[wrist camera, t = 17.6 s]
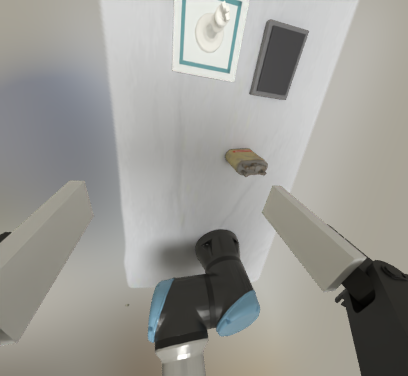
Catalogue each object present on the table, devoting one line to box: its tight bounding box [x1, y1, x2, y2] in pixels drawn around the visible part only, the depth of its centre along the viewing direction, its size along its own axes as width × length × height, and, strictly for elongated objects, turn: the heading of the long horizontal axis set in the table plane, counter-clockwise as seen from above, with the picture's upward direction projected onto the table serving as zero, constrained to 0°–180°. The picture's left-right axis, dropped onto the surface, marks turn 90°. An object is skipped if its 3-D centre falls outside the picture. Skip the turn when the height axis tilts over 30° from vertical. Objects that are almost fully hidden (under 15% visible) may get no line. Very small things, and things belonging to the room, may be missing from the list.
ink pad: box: [250, 19, 309, 100], centre depth 31 cm, size 11×8×2 cm
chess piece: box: [195, 1, 230, 53], centre depth 23 cm, size 5×5×10 cm
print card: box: [172, 0, 249, 82], centre depth 27 cm, size 12×12×1 cm
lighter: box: [225, 149, 268, 177], centre depth 36 cm, size 7×4×10 cm, turn 89°
